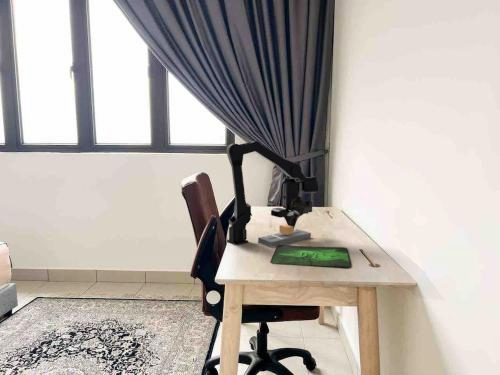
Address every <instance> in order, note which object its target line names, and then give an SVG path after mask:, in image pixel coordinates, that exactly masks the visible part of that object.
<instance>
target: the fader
mask: <svg viewBox="0 0 500 375" xmlns="http://www.w3.org/2000/svg"><path fill="white" fill-rule="evenodd" d="M278 230H279V231H278V233H283V234H286V235H289V234H293V226H290V225H288V224H287V223H286V224H285V223H284V224H280V225H279V228H278Z"/></svg>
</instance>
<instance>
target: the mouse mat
mask: <svg viewBox="0 0 500 375" xmlns="http://www.w3.org/2000/svg"><path fill="white" fill-rule="evenodd" d="M269 262H270V264H272V265H281V266H282V265H284V266H298V267H299V266H300V267H301V266H302V267H316V268H317V267H318V268H341V269H342V268H344V269H349V268H351V267H352V261H351V257H350V253H349V248H347V247H342V246H339V247H338V246H337V247H336V246H310V245H309V246H307V245H291V244H283V245H279V246H278V247H277V246H275V248H274V251H273V254H272V256H271V259H270V261H269Z"/></svg>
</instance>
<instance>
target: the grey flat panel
mask: <svg viewBox="0 0 500 375" xmlns="http://www.w3.org/2000/svg"><path fill="white" fill-rule="evenodd" d="M310 237H312V233H311V232H309V231H305V230H301V229H298V228H297V229H294V230H293V234H289V235H286V234H283V233H279V232H278V233H273V234H268V235H264V236H260V237H258V239H257V242H258V244H261V245H264V246H267V247H270V248H273V247H277V246H279V245H288V244H290V243H294V242H298V241H302V240H307V239H311V238H310ZM306 238H307V239H306Z"/></svg>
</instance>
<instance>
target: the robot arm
mask: <svg viewBox="0 0 500 375" xmlns="http://www.w3.org/2000/svg"><path fill="white" fill-rule="evenodd" d="M254 152H255V153H256V154H259V156H260V157H261V156H262V158H265V159H266V160H268V161H269V162H271V163H272V164H274V165H275V166H276V167H278V168H279V170H280V171H281V172H282V173H283V174H285V176H284V177H283V178H282V179H281V180H280V183H282V184H285V188H284V189H285V194H284V195H283V197H282V198H283V199H284V203H285V204H284V205H282V207H283V208H282V207H275V208H271V210H270V216H272V217H276V218H283V219H284V220H285V222H286V225H290V226H293V230H295V227H296V225H297V222H298V220H299V218H300V217H301V216H303V215H305V214H306V215H307V214H309V213H313V202H312V200H306V201H303V198H302V195H300V192H301V193H302V194H316V193H318V191H319V182H318V180H317V177H316V176H310V177H309V176H305V175H304V174H303V172H302V167H301V165H299V164H298V163H295V162H293V161H291V160H289V159H285V158H283V157H282V156H280V155H279V154H277V153H276V152H274V151H273V150H271V149H270V148H268V147H267V146H265V145H263V144H262V143H261V142H260V141H258V140H253V141H250V142H246V143H240V144H238V143H231V144H229V145H227V147H226V152H225V153H226V155H227V159H228V161H229V165H230V168H231V173H232V175H231V176H232V181H233V190H234V200H235V201H234V206H233V215H232V216H231V217H230V218H229V219H228V223H229V225H230V226H229V227H228V239H227V240H226V242H227V243H230V244H233V245H240V244H241V245H242V244H246V243H249V240H248V239H247V235H248V234H247V232H248V231H247V224H249V222H250V221H251V219H252V216H253V214H252V205H251V204H249V203H247V201H246V193H245V183H244V175H243V174H244V173H243V162H244V155H247V154H250V153H254ZM286 176H288V177H290V178H288V177H286ZM295 179H296V180H295Z"/></svg>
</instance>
